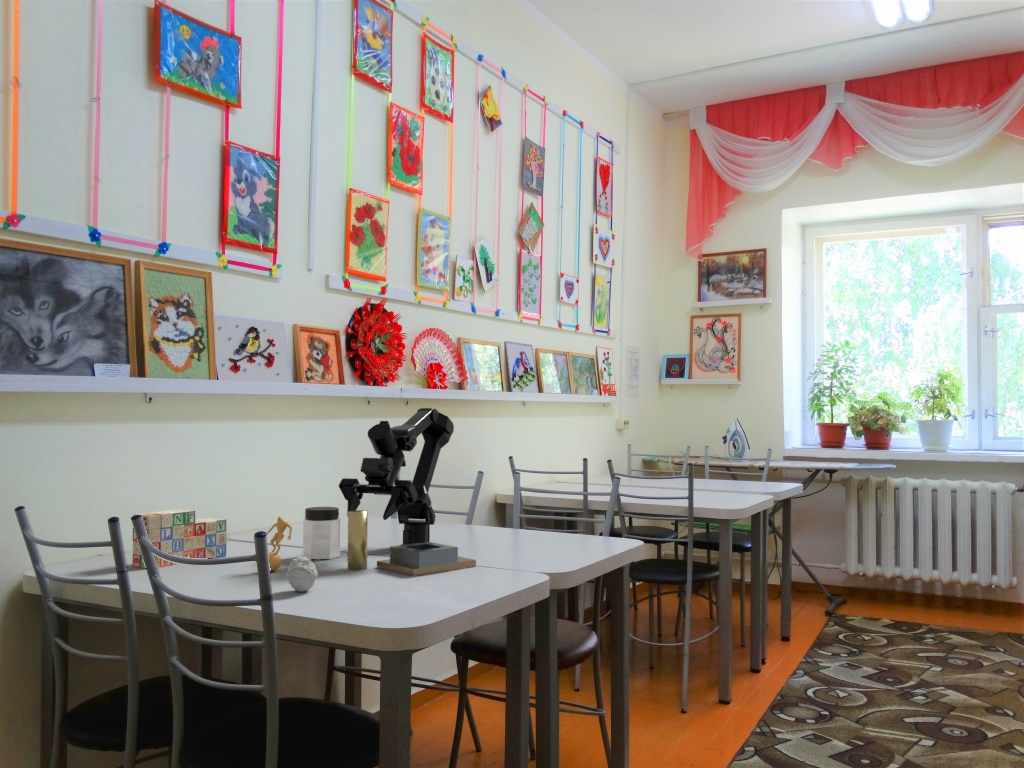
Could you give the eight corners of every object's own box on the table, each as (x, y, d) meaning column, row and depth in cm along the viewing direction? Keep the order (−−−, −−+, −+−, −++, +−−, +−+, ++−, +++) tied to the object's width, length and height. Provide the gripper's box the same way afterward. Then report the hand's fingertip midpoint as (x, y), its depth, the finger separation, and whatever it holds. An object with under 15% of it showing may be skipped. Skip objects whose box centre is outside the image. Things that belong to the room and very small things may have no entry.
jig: (438, 558, 205) (438, 538, 205) (475, 566, 195) (476, 544, 195) (376, 567, 193) (377, 545, 193) (413, 576, 183) (413, 553, 183)
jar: (345, 557, 206) (345, 508, 206) (314, 561, 201) (315, 511, 201) (328, 553, 213) (328, 505, 213) (298, 556, 208) (298, 507, 208)
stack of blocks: (210, 554, 211) (211, 505, 211) (226, 556, 207) (227, 506, 208) (131, 567, 193) (132, 513, 193) (147, 569, 189) (148, 515, 190)
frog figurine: (282, 595, 163) (282, 559, 163) (290, 588, 170) (291, 553, 170) (313, 595, 163) (314, 559, 163) (320, 588, 170) (321, 553, 170)
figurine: (252, 570, 188) (253, 517, 189) (274, 566, 193) (275, 514, 194) (277, 574, 184) (278, 519, 184) (298, 570, 189) (299, 517, 189)
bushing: (360, 566, 195) (360, 509, 195) (370, 568, 191) (371, 511, 192) (343, 568, 192) (344, 511, 192) (354, 571, 188) (355, 513, 189)
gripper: (342, 445, 204) (318, 494, 193) (413, 446, 199) (392, 496, 188) (357, 475, 212) (335, 524, 201) (426, 477, 206) (406, 528, 195)
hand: (366, 517), depth 196 cm, fingers open, 9 cm apart
